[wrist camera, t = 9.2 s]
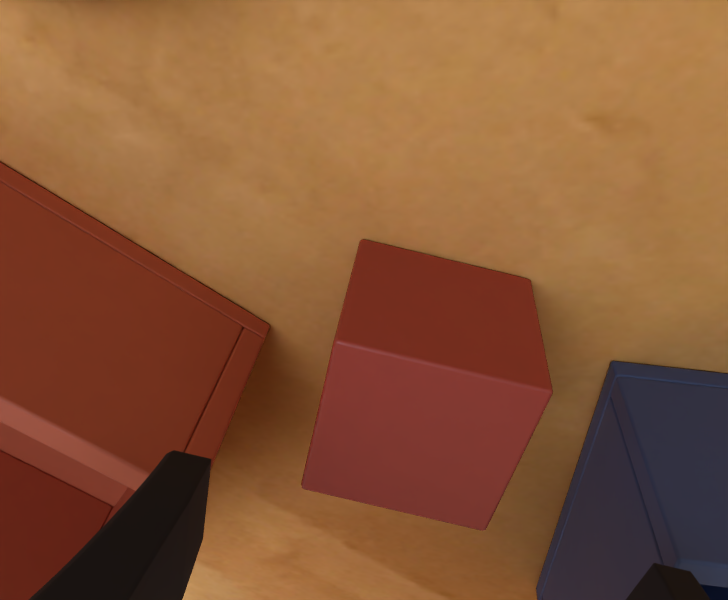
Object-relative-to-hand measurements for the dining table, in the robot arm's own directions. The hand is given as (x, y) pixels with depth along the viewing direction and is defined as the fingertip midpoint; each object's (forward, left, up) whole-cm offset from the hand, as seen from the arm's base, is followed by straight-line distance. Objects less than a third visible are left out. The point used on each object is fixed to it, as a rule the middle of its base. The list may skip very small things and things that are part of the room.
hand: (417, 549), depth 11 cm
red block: (0, 0, -6) cm, 6 cm away
